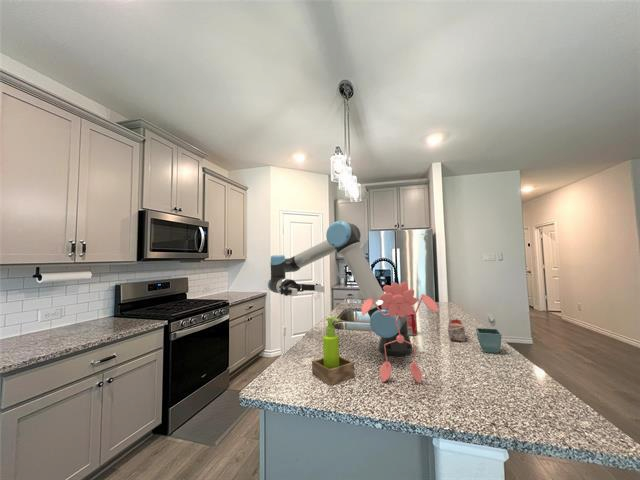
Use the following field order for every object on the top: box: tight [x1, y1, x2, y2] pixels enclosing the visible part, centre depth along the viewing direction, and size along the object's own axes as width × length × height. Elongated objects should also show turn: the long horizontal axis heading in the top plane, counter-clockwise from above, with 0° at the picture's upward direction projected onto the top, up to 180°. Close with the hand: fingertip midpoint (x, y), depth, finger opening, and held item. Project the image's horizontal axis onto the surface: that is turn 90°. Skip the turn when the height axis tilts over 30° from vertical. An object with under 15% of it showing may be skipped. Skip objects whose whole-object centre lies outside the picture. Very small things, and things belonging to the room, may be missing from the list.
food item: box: [447, 318, 466, 343], centre depth 142 cm, size 14×8×10 cm, turn 159°
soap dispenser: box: [322, 317, 341, 369], centre depth 103 cm, size 6×7×20 cm
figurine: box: [360, 281, 439, 398], centre depth 94 cm, size 15×26×35 cm, turn 79°
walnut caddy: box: [311, 355, 355, 386], centre depth 102 cm, size 11×11×5 cm
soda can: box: [407, 309, 418, 337], centre depth 152 cm, size 7×7×13 cm
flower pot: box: [475, 327, 503, 354], centre depth 123 cm, size 9×9×9 cm
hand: (310, 290), depth 116 cm, fingers open, 13 cm apart
